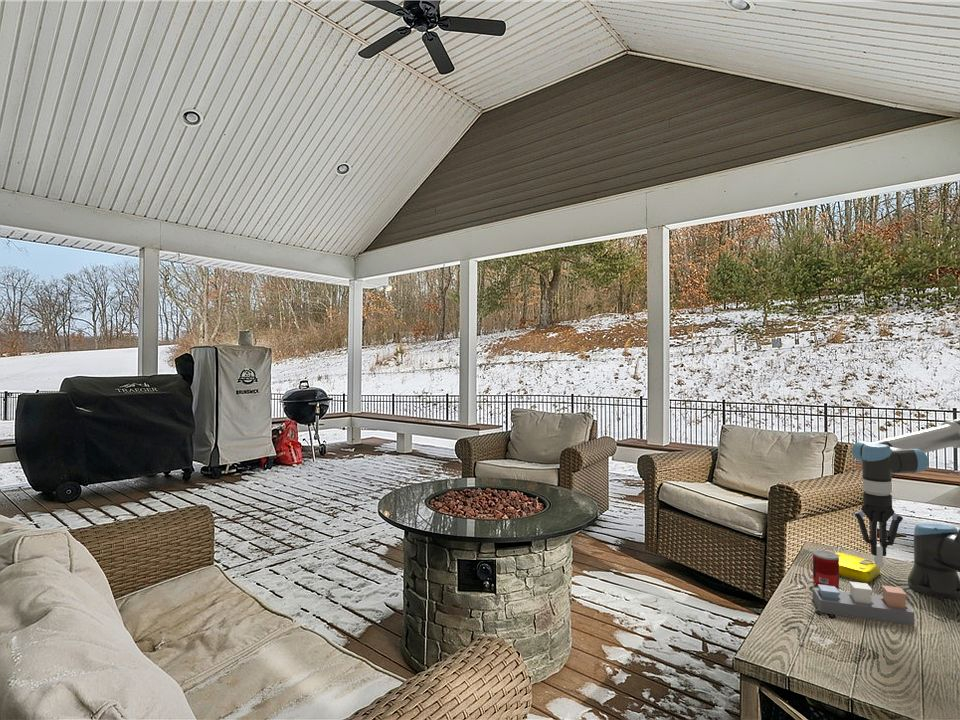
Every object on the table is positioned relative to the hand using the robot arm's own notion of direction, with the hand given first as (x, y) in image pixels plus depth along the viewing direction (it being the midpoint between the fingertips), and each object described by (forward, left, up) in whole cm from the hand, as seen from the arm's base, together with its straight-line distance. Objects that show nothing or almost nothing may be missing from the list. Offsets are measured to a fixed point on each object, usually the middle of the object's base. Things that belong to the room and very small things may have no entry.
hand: (878, 565), depth 171 cm
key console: (+5, 0, -16) cm, 16 cm away
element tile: (-2, -36, -16) cm, 40 cm away
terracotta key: (-4, 0, -12) cm, 13 cm away
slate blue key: (+14, 0, -14) cm, 20 cm away
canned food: (+10, -20, -16) cm, 27 cm away
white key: (+5, 0, -12) cm, 13 cm away
